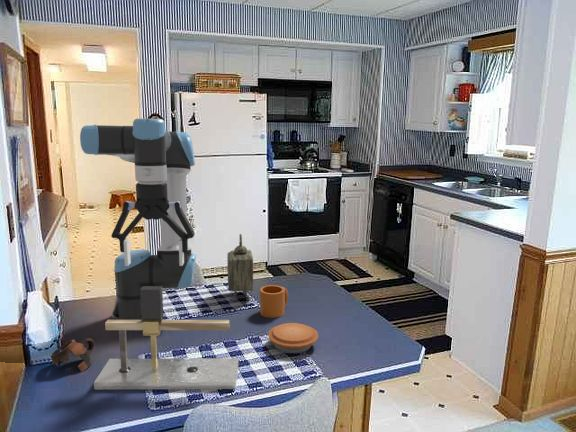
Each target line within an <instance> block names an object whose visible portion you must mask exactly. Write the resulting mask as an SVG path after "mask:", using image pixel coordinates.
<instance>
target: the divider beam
mask: <svg viewBox="0 0 576 432" xmlns="http://www.w3.org/2000/svg"><path fill="white" fill-rule="evenodd" d="M104 325H105V326H104V327H105V329H104V330H105V331H118V335H119V337H118V339H119V353H120V354H119V356H120V359H121V371H127V370H128V359H129V358H128V344H127V343H128V342H127V340H128V339H127V331H143V322H142V320H112V319H107V320H106V321H105V323H104ZM230 326H231V325H230V319H163V320H162V322H159V329H160V330H161V331H230Z"/></svg>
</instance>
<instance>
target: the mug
mask: <svg viewBox="0 0 576 432" xmlns="http://www.w3.org/2000/svg"><path fill="white" fill-rule="evenodd" d="M288 300H289V292H288V290H287V288H286V287H284V286H280V285H276V284H275V285H274V284H269V285H264V286H261V287H260V288H259V311H260V312H259V313H260V315H261V316H263V317H265V318H272V319H274V318H275V319H276V318H280V317H282V316H284V315H285V307H286V306H287V304H288Z"/></svg>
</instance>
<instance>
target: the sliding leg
mask: <svg viewBox="0 0 576 432" xmlns="http://www.w3.org/2000/svg"><path fill="white" fill-rule="evenodd" d="M163 297H164V296H163V289H162V286H142V288H141V289H140V299H141V318H142V322H143V330H142V336H143V337H144V336H146V337H147V336H148V337H149V336H150V351H151V352H150V354H151V359H152V369H157V367H158V363H157V359H158V346H157V345H158V344H157V342H158V341H157V337H159V336H160V334H161V331H162V330H160V329H159V322H162V320H164V303H163V302H164V300H163Z"/></svg>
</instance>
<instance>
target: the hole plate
mask: <svg viewBox="0 0 576 432" xmlns="http://www.w3.org/2000/svg"><path fill="white" fill-rule="evenodd" d="M157 363H158V367H157V369H152V358H128V370H127V371H121V358H109V359H108V361H107V362H106V364H105V365H104V366H103V368H102V369H101V371H100V373H99V374H98V376H97V377H96V379H95V380H94V382H93V389H94V390H95V391H96V390H98V391H99V390H102V391H103V390H236V387H237V379H238V372H239V364H240V363H239V357H238V358H234V357H233V358H230V357H229V358H227V357H225V358H208V357H207V358H202V357H201V358H199V357H198V358H184V357H183V358H177V357H176V358H157Z"/></svg>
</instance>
